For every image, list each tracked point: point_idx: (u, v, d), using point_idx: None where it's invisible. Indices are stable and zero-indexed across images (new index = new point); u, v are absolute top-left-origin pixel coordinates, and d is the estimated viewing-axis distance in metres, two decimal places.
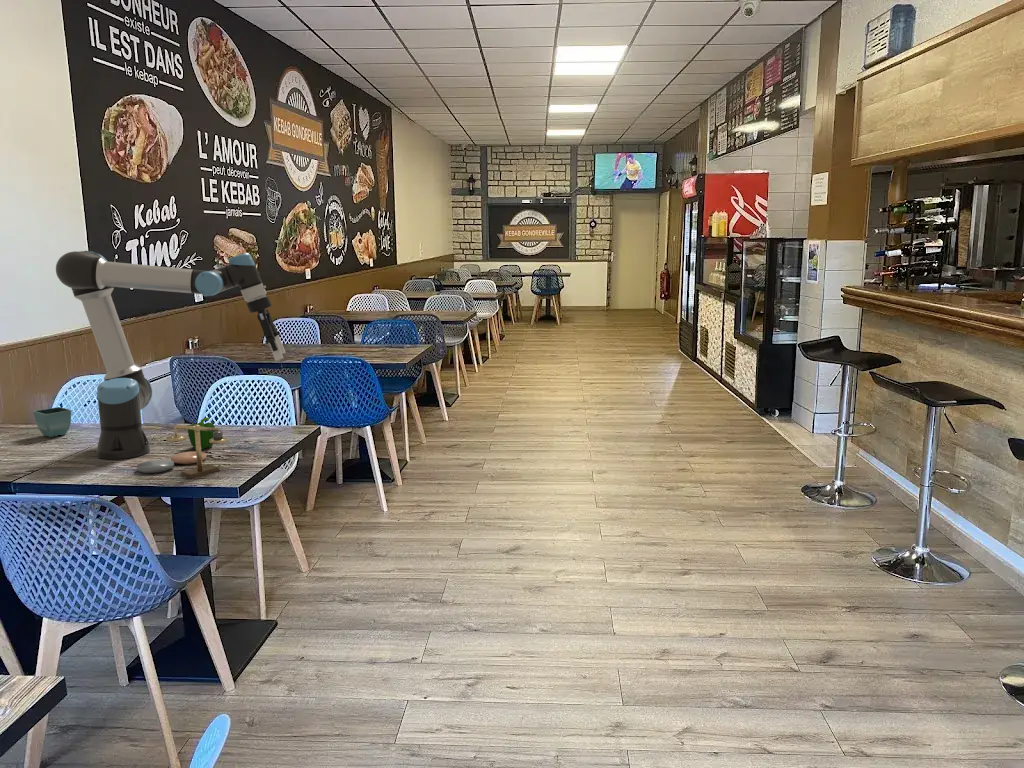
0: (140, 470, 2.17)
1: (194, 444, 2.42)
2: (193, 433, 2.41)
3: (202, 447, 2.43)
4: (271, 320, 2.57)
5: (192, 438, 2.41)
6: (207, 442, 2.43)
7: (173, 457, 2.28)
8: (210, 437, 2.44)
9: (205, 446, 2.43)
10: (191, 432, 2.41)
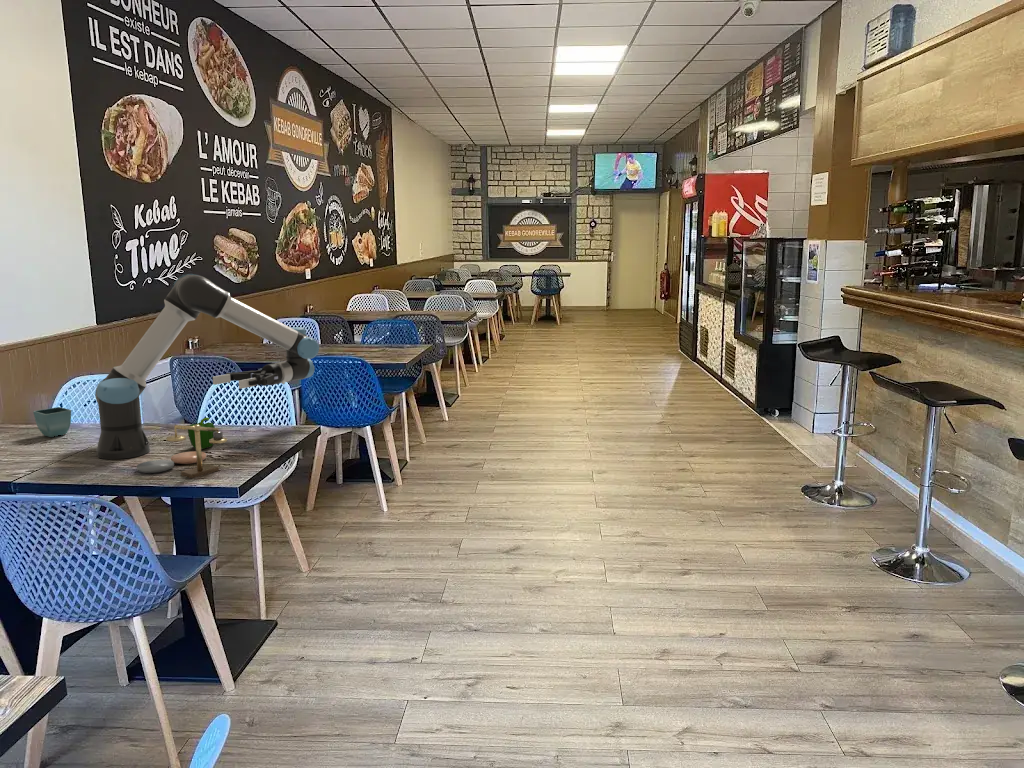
0: (140, 470, 2.17)
1: (194, 444, 2.42)
2: (193, 433, 2.41)
3: (202, 447, 2.43)
4: None
5: (192, 438, 2.41)
6: (207, 442, 2.43)
7: (173, 457, 2.28)
8: (210, 437, 2.44)
9: (205, 446, 2.43)
10: (191, 432, 2.41)
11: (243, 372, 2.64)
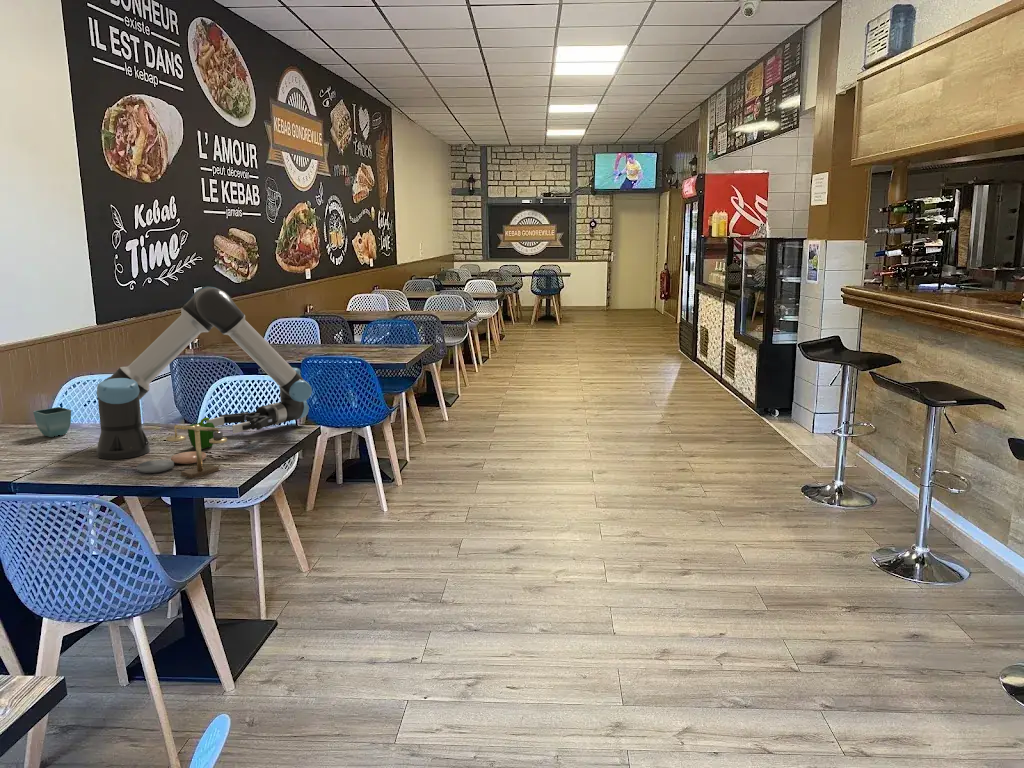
0: (140, 470, 2.17)
1: (194, 444, 2.42)
2: (193, 433, 2.41)
3: (202, 447, 2.43)
4: None
5: (192, 438, 2.41)
6: (207, 442, 2.43)
7: (173, 457, 2.28)
8: (210, 437, 2.44)
9: (205, 446, 2.43)
10: (191, 432, 2.41)
11: (237, 414, 2.63)
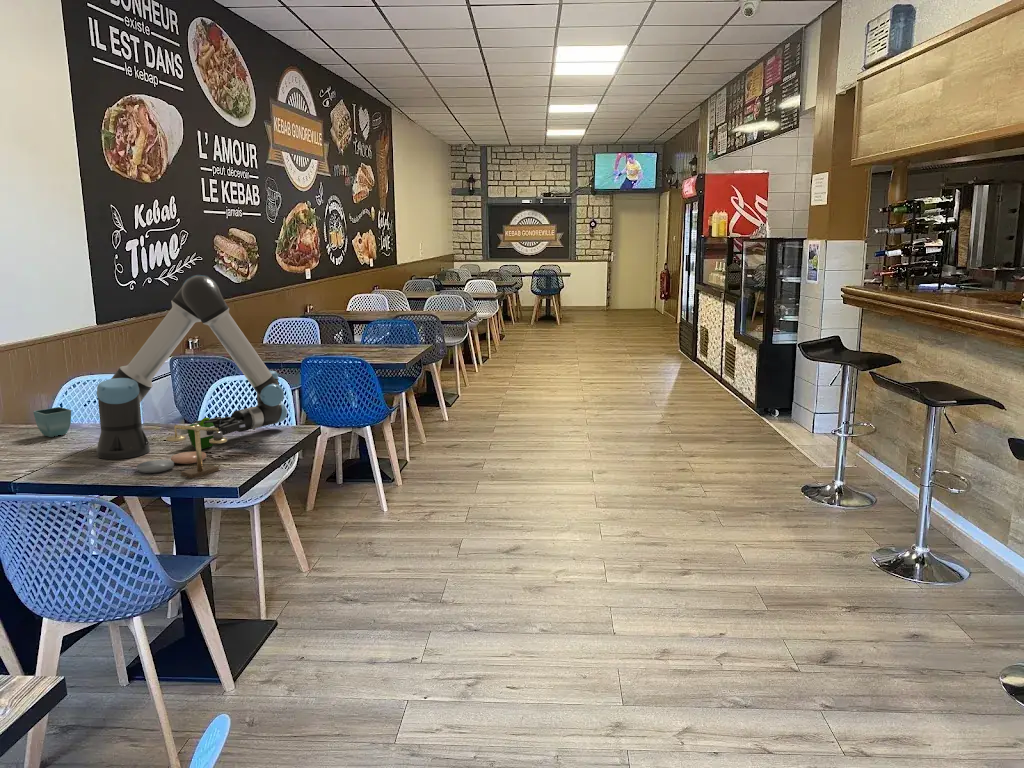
0: (140, 470, 2.17)
1: (194, 444, 2.42)
2: (193, 433, 2.40)
3: (202, 447, 2.42)
4: None
5: (192, 438, 2.41)
6: (207, 442, 2.43)
7: (173, 457, 2.28)
8: (210, 437, 2.43)
9: (205, 446, 2.43)
10: (191, 432, 2.41)
11: (211, 419, 2.54)
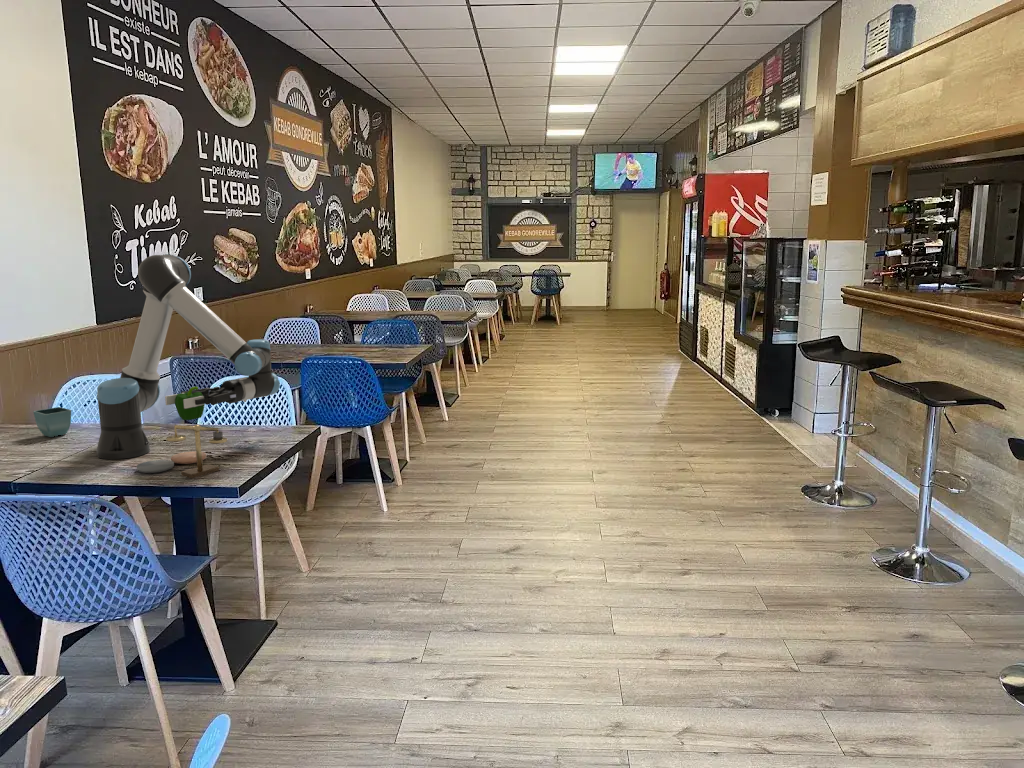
0: (140, 470, 2.17)
1: (182, 415, 2.26)
2: (181, 403, 2.25)
3: (191, 418, 2.27)
4: None
5: (180, 408, 2.26)
6: (196, 413, 2.28)
7: (173, 457, 2.28)
8: (199, 407, 2.28)
9: (194, 417, 2.28)
10: (179, 402, 2.25)
11: (199, 390, 2.39)
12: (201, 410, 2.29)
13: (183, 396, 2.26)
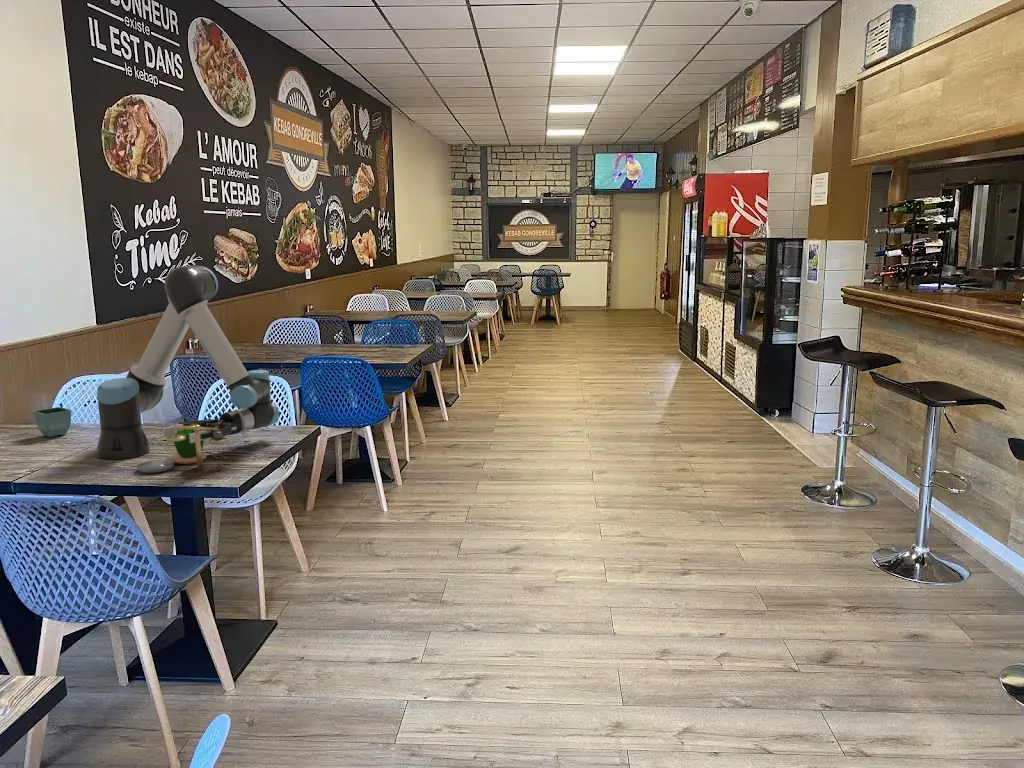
0: (140, 470, 2.17)
1: (180, 452, 2.26)
2: (179, 441, 2.25)
3: (189, 455, 2.27)
4: None
5: (178, 446, 2.25)
6: (194, 450, 2.28)
7: (173, 457, 2.28)
8: None
9: (192, 454, 2.27)
10: None
11: (198, 421, 2.39)
12: None
13: (182, 434, 2.26)
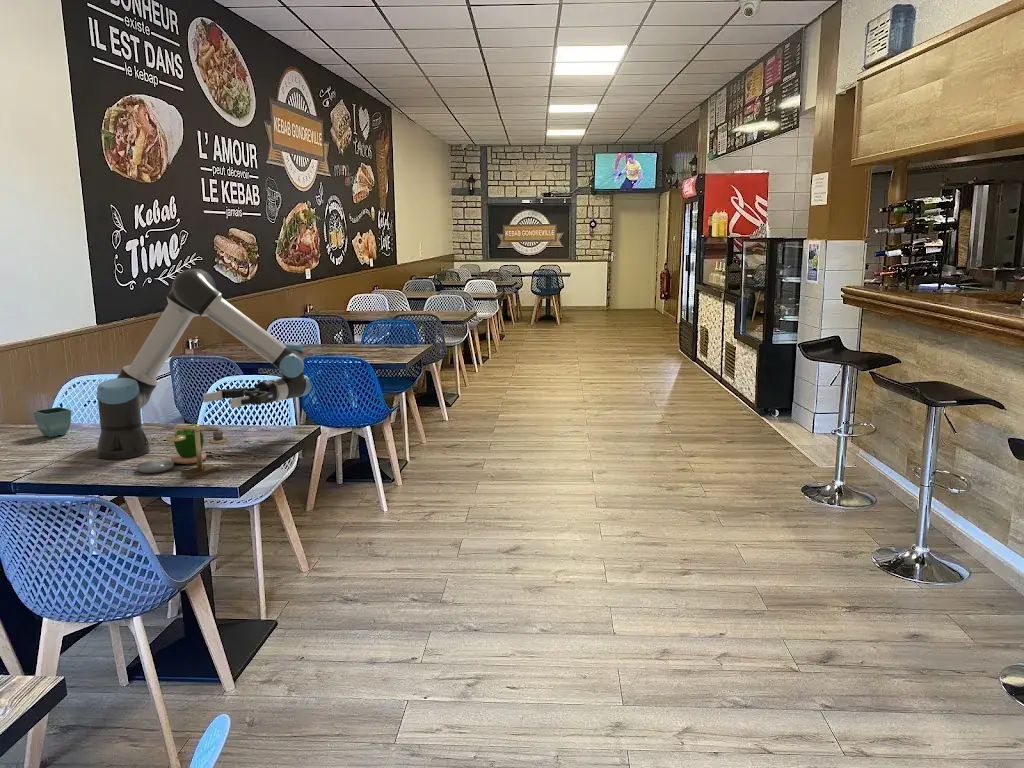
0: (140, 470, 2.17)
1: (180, 452, 2.26)
2: (179, 441, 2.25)
3: (189, 455, 2.27)
4: None
5: (178, 446, 2.25)
6: (194, 450, 2.28)
7: (173, 457, 2.28)
8: None
9: (192, 454, 2.27)
10: None
11: (236, 389, 2.50)
12: None
13: (181, 434, 2.26)
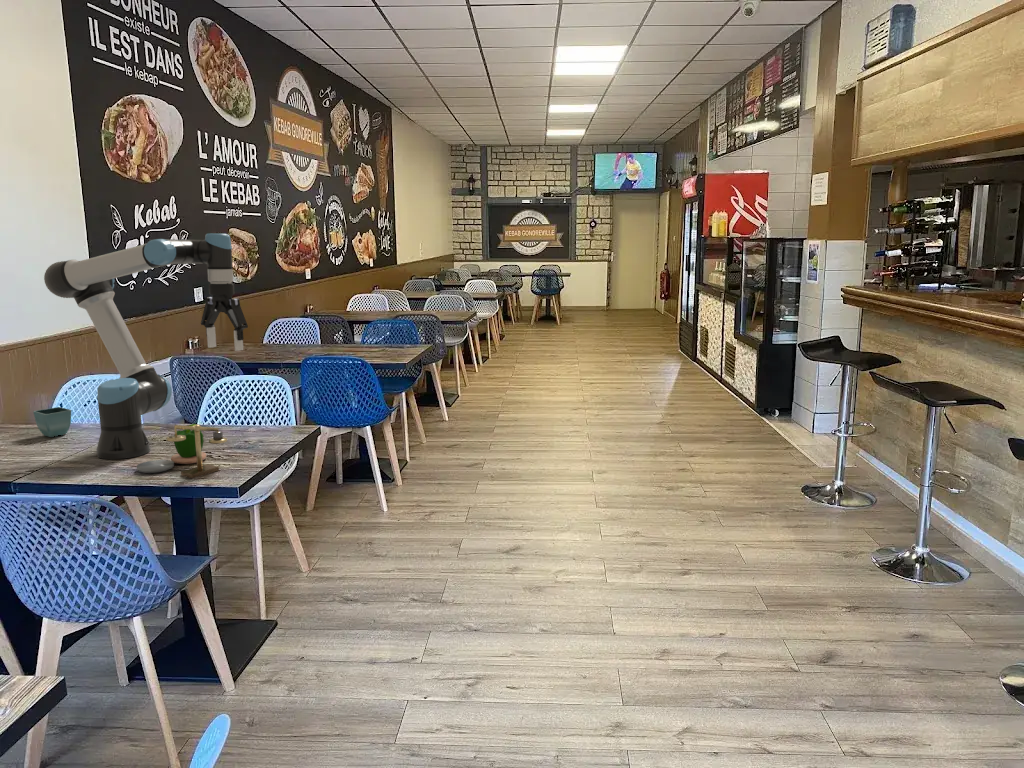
0: (140, 470, 2.17)
1: (180, 452, 2.26)
2: (179, 441, 2.25)
3: (189, 455, 2.27)
4: None
5: (178, 446, 2.25)
6: (194, 450, 2.28)
7: (173, 457, 2.28)
8: None
9: (192, 454, 2.27)
10: None
11: (206, 310, 2.41)
12: None
13: (181, 434, 2.26)
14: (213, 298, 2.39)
